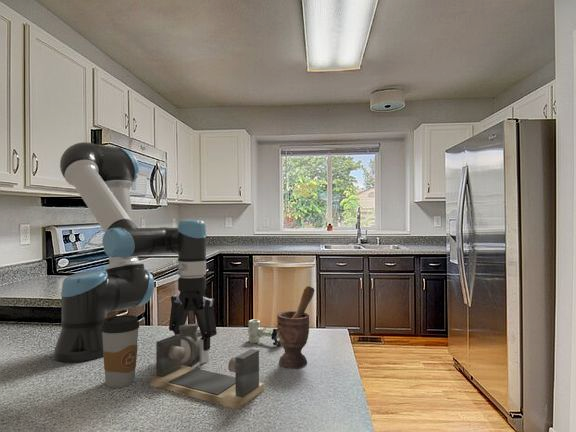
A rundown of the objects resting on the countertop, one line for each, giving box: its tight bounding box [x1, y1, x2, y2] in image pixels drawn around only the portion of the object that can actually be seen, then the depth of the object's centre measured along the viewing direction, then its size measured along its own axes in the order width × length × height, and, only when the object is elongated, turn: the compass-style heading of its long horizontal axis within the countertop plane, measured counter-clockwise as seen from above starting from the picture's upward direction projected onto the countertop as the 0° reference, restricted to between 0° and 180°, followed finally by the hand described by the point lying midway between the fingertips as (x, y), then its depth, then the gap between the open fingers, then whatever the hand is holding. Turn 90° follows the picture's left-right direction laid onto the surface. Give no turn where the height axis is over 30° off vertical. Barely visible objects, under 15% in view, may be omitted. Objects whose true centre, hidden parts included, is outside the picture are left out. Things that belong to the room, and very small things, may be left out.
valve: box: [247, 319, 282, 348], centre depth 119 cm, size 7×7×12 cm
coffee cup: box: [101, 314, 140, 389], centre depth 90 cm, size 8×8×15 cm
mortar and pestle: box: [276, 285, 315, 369], centre depth 103 cm, size 12×9×20 cm
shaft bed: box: [149, 334, 265, 410], centre depth 87 cm, size 25×10×10 cm, turn 62°
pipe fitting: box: [179, 323, 210, 366], centre depth 105 cm, size 12×8×10 cm
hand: (192, 359), depth 104 cm, fingers closed on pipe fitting, 8 cm apart
